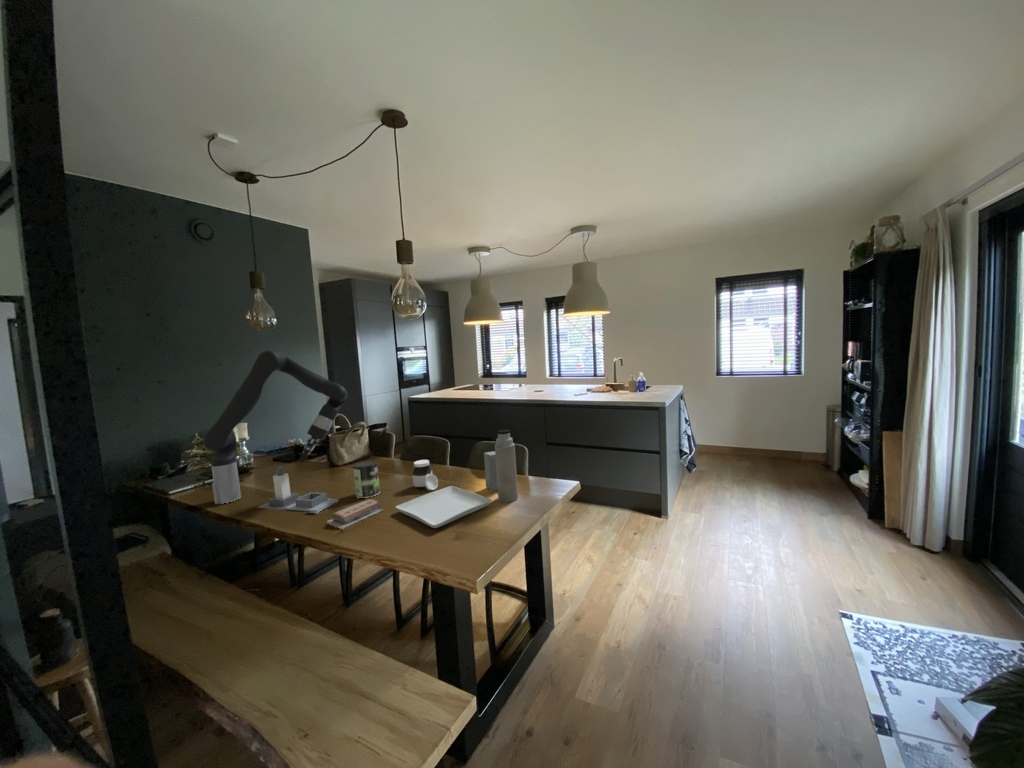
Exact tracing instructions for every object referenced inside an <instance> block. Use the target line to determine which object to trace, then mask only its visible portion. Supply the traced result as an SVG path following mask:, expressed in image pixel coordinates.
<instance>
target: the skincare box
mask: <svg viewBox="0 0 1024 768" xmlns="http://www.w3.org/2000/svg"><path fill="white" fill-rule="evenodd" d="M483 459H484V460H483V461H484V475H485V488H487V490H490V492H491V493H492V492H498V486H497V472H496V458H495V450H494V451H487V452H484V453H483Z"/></svg>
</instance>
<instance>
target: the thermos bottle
mask: <svg viewBox="0 0 1024 768" xmlns="http://www.w3.org/2000/svg"><path fill="white" fill-rule="evenodd" d="M494 451H495V458H496V472H497V486H498V490H497V498H498V499H497V500H498V501H500V502H502V503H511V502H515V501H517V500H518V499H519V490H518V475H517V474H518V473H517V462H516V447H515V443H514V441H513V437H511V430H510V429H500V430H498V431H497V438H496V439H495V444H494Z"/></svg>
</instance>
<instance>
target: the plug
mask: <svg viewBox="0 0 1024 768" xmlns="http://www.w3.org/2000/svg"><path fill="white" fill-rule="evenodd" d="M275 469H276V471H275V472H276V474H275V475H272V479H273V486H274V487H273V488H274V494H275V495H274V496H275V497H276V499H285V498H287V497H289V496H291V493H292V492H291V487H290V486H291V485H290V478H289V473H287V472H286V473H285V472H284V467H283V466H280V467H276V468H275Z"/></svg>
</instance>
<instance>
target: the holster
mask: <svg viewBox="0 0 1024 768" xmlns="http://www.w3.org/2000/svg"><path fill="white" fill-rule="evenodd" d="M290 493H291V496H289V497H287V498H285V499H276V497H275V495H274V496H272V497H270V498H267V503H264V504H262V505H259V506H257V507H256V508H257V509H258V508H259V509H260V508H261V509H270V510H271V509H272V510H286V509H285V508H286V507H288V506H290V505H292V504H294V503H296V502H295V500H296V499H298V498H300V497H302V496H303V495H299V493H298V492H290Z"/></svg>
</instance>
